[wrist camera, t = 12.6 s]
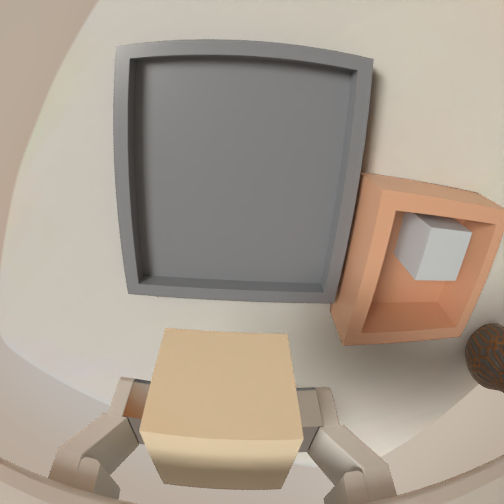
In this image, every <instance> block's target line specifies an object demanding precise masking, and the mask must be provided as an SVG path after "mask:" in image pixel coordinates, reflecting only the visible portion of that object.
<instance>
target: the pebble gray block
mask: <svg viewBox="0 0 504 504" xmlns="http://www.w3.org/2000/svg"><path fill="white" fill-rule="evenodd" d="M471 235H472V232H471V231H470V230H468V229H467V228H466V227H464V226H463V225H462V224H460V223H459V222H458V221H456V220H455V219H454V218H450V217H443V216H436V215H428V214H420V213H412V212H404V215H403V219H402V223H401V227H400V231H399V235H398V239H397V243H396V247H395V250H394V255H395V256H396V257H397V259H398V260H399V261H400V262H401V263H402V265H403V266H404V267H405V268H406V270H407V271H408V272H409V273H410V275H411V276H412V277H413V278H414V280H435V281H456V278H457V276H458V273H459V270H460V268H461V265H462V262H463V259H464V256H465V253H466V250H467V247H468V244H469V241H470V238H471Z"/></svg>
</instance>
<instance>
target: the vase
mask: <svg viewBox="0 0 504 504" xmlns="http://www.w3.org/2000/svg"><path fill="white" fill-rule="evenodd" d="M465 356H466V363H467V367H468V369H469V372H470V373H471V375H472V377H473V378H474V379H475V380H476V381H477V382H478V383H479V384H480V385H482V386H483V387H485V388H488V389H493V390H499V391H502V392H503V393H504V327H503V326H501V325H498V324H489V325H485V326H482V327H481V328H479V329H478V330H477V331H476V332H475V333H474V334H473V335H472V336H471V338H470V339H469V341H468V344H467V348H466V355H465Z"/></svg>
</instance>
